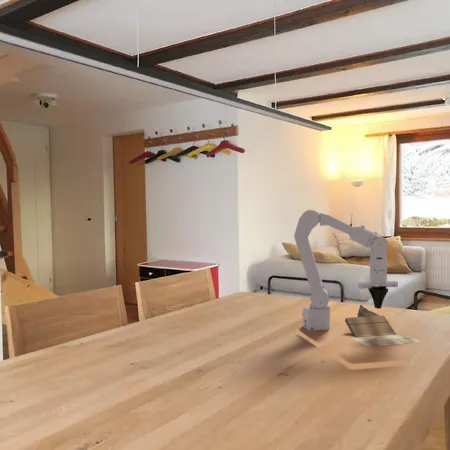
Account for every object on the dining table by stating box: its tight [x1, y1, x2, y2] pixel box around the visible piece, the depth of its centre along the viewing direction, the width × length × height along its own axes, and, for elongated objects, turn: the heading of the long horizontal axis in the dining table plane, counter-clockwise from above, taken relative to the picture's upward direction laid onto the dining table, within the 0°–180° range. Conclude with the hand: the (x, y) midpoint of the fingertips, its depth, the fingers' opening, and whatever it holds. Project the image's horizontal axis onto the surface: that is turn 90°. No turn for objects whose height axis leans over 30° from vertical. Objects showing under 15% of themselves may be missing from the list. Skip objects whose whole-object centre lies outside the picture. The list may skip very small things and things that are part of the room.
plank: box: [344, 315, 397, 338], centre depth 171 cm, size 15×9×2 cm
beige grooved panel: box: [350, 333, 421, 348], centre depth 162 cm, size 20×10×2 cm, turn 104°
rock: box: [357, 304, 381, 317], centre depth 187 cm, size 11×6×10 cm
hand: (377, 308), depth 174 cm, fingers closed
